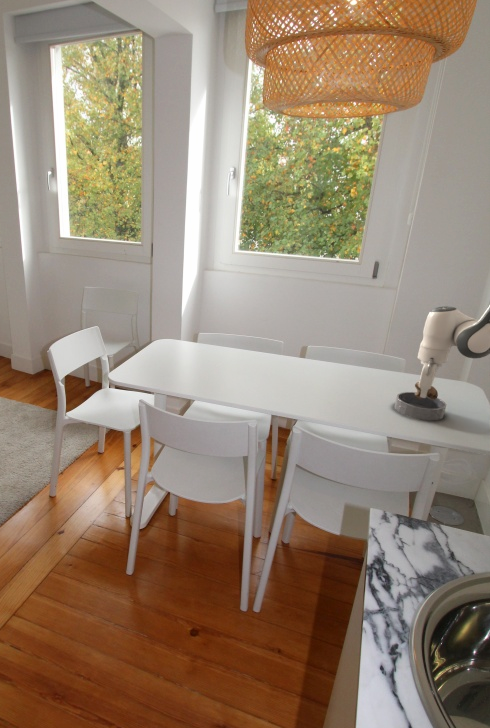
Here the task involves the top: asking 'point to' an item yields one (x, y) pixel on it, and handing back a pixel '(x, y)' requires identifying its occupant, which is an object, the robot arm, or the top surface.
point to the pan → (419, 406)
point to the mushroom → (431, 392)
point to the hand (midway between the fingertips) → (424, 392)
